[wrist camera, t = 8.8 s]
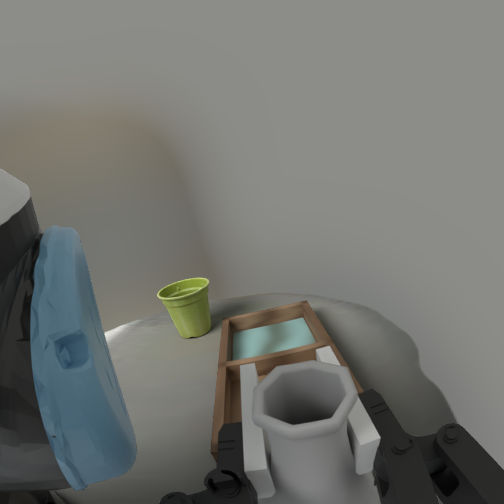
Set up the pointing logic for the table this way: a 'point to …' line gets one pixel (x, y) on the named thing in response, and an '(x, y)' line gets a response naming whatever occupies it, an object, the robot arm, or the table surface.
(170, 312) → the plant pot
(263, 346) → the walnut caddy
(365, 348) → the table surface
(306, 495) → the flask
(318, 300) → the table surface
